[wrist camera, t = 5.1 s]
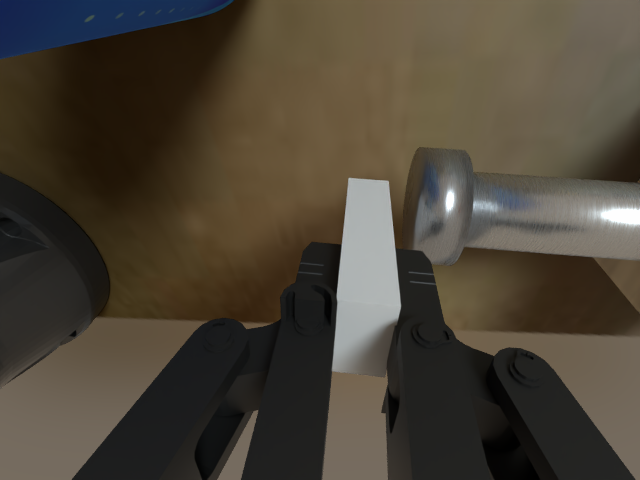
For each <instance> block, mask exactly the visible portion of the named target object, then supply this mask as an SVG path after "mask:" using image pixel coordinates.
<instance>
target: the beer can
mask: <svg viewBox="0 0 640 480" xmlns="http://www.w3.org/2000/svg"><path fill="white" fill-rule="evenodd" d="M233 1H234V0H0V59H3V58H8V57H12V56H17V55H22V54H27V53H31V52H36V51H41V50H46V49H50V48H55V47H60V46H65V45H69V44H74V43H79V42H84V41H88V40H93V39H98V38H103V37H107V36H112V35H117V34H122V33H126V32H131V31H136V30H141V29H145V28H150V27H155V26H160V25H164V24H169V23H174V22H179V21H184V20H188V19H193V18H198V17H202V16H207V15H209V14H212V13H215V12H217V11H219V10H221V9H223V8H224V7H226V6H227V5H229V4H230V3H232V2H233Z"/></svg>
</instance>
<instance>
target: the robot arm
mask: <svg viewBox="0 0 640 480" xmlns="http://www.w3.org/2000/svg"><path fill="white" fill-rule="evenodd" d="M435 283H436V282H435V278H434V275H433V269H432V264H431V261H430V260H429V259H428V257H427V256H426V255H425V254H424V253H423V251H419V250H408V249H397V248H395V241H394V231H393V221H392V211H391V201H390V191H389V181H382V180H369V179H356V178H349V181H348V191H347V201H346V210H345V220H344V230H343V239H342V245H340V244H329V243H318V242H311V243H310V244H309V245H308V246H307V247H306V248H305V250H304V251H303V254H302V258H301V262H300V266H299V270H298V274H297V278H296V282H295V283H294V284H292V285H290V286H289V287H287V288H286V289H285V290H284V291H283V293H282V295H281V297H280V303H281V319H280V320H278V321H277V322H275V323H273V324H271V325H267V326H264V327H258V328H252V329H246V328H245V327H244V326H243V324H242V323H240V322H238V321H236V320H234V319H227V318H221V319H214V320H211V321H209V322H207V323H205V324H203V325H201V326H200V327H199V328H198V329H197V330H196V331H195V332H194V333H193V334H192V335H191V337H190V338H189V339H188V340H187V341H186V343H185V344H184V345H183V346H182V347H181V348H180V350H179V351H178V352H177V353H176V355H175V356H174V357H173V358H172V359H171V360H170V362H169V363H168V364H167V365H166V367H165V368H164V369H163V370H162V371H161V373H160V374H159V375H158V376H157V377H156V379H155V380H154V381H153V382H152V384H151V385H150V386H149V387H148V388H147V389H146V391H145V392H144V393H143V394H142V395H141V397H140V398H139V399H138V400H137V401H136V403H135V404H134V405H133V406H132V408H131V409H130V410H129V411H128V412H127V414H126V415H125V416H124V417H123V418H122V420H121V421H120V422H119V423H118V424H117V426H116V427H115V428H114V429H113V430H112V432H111V433H110V434H109V435H108V436H107V438H106V439H105V440H104V441H103V442H102V444H101V445H100V446H99V447H98V448H97V450H96V451H95V452H94V453H93V455H92V456H91V457H90V458H89V459H88V461H87V462H86V463H85V464H84V465H83V467H82V468H81V469H80V470H79V471H78V473H77V474H76V475H75V476H74V478H73V479H72V480H217V479H218V477H219V475H220V473H221V471H222V469H223V468H224V466H225V464H226V462H227V460H228V458H229V456H230V454H231V453H232V451H233V449H234V447H235V445H236V443H237V441H238V439H239V437H240V436H241V434H242V432H243V430H244V428H245V426H246V424H247V423H248V421H249V419H250V417H251V415H252V413H253V411H255V410H259V411H258V416H257V419H256V423H255V427H254V431H253V435H252V439H251V442H250V447H249V451H248V454H247V458H246V462H245V467H244V470H243V474H242V478H241V480H322V475H323V464H324V454H325V442H326V432H327V420H328V410H329V398H330V388H331V376H332V371H334V372H343V373H352V374H360V375H369V376H378V377H385V375H386V370H387V376H388V385H387V389H386V394H385V398H384V402H383V406H382V413H386V434H387V460H388V461H387V462H388V480H635V478H634V477H633V476H632V474H631V473H630V472H629V470H628V469H627V468H626V466H625V465H624V463H623V462H622V461H621V459H620V458H619V457H618V455H617V454H616V453H615V451H614V450H613V449H612V447H611V446H610V445H609V443H608V442H607V441H606V439H605V438H604V437H603V435H602V434H601V433H600V431H599V430H598V429H597V427H596V426H595V425H594V423H593V422H592V421H591V419H590V418H589V417H588V415H587V414H586V413H585V411H584V410H583V408H582V407H581V406H580V404H579V403H578V402H577V400H576V399H575V398H574V396H573V395H572V394H571V392H570V391H569V390H568V388H567V387H566V386H565V384H564V383H563V382H562V380H561V379H560V378H559V376H558V375H557V374H556V372H555V371H554V370H553V369H552V368H551V367H550V365H549V364H548V363H547V362H546V361H545V360H543V359H542V358H540V357H539V356H537V355H535V354H534V353H532V352H529V351H526V350H523V349H521V348H506V349H502V350H500V351H499V352H498V353H497V354H496V355H495V356H493V355H490V354H487V353H484V352H482V351H479V350H476V349H473V348H471V347H469V346H467V345H465V344H463V343H462V342H460V341H459V340H457V339H456V337H455V335H454V333H453V331H452V330H451V329H450V328H449V327H448V326H447V325H446V324H445V322H444V318H443V314H442V309H441V305H440V300H439V296H438V291H437V287H436V285H435ZM108 296H109V279H108V274H107V271H106V268H105V265H104V263H103V261H102V258H101V256H100V255H99V253H98V251H97V249H96V248H95V246H94V245H93V243H92V242H91V241H90V239H89V238H88V237H87V235H86V234H85V233H84V232H83V231H82V230H81V228H80V227H79V226H78V225H77V224H76V223H75V222H74V221H73V220H72V219H71V218H70V217H69V216H68V215H67V214H66V213H64V212H63V211H62V210H61V209H60V208H58V207H57V206H56V205H55V204H53V203H52V202H51V201H49V200H48V199H47V198H45V197H44V196H42V195H41V194H39V193H38V192H36V191H35V190H33V189H31V188H30V187H28V186H26V185H25V184H23V183H21V182H19V181H17V180H15V179H13V178H11V177H9V176H7V175H4V174H2V173H0V389H1V388H2V387H3V386H4V385H6V384H7V383H8V382H10V381H11V380H13V379H14V378H16V377H17V376H19V375H20V374H22V373H23V372H25V371H26V370H28V369H29V368H31V367H32V366H34V365H35V364H37V363H38V362H39V361H41V360H42V359H44V358H45V357H46V356H48V355H49V354H50V353H52V352H53V351H54V350H55V349H57V348H58V347H59V346H60V345H63V344H66V343H68V342H70V341H71V340H73V339H75V338H76V337H77V336H79V335H80V334H81V333H82V332H84V331H85V330H86V329H87V328H88V326H89V325H90V324H91V323H92V321H93V320H94V319H95V318H96V316H97V315H98V314H99V313H100V311H101V310H102V309H103V308H104V306H105V304H106V302H107V299H108Z"/></svg>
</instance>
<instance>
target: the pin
mask: <svg viewBox="0 0 640 480" xmlns="http://www.w3.org/2000/svg"><path fill="white" fill-rule="evenodd" d="M402 236H403V249H408V250H419V251H423V253H424V254H425V255H426V256H427V257H428V259H429V260H430V261H431V264H435V265H446V266H451V265H453V264H454V263H455V262H456V261H457V260H458V259H459V257H460V255H461V253H462V251H463V248H464V247H472V248H484V249H496V250H509V251H521V252H533V253H546V254H558V255H570V256H583V257H595V258H607V259H620V260H632V261H640V183H632V182H617V181H602V180H588V179H573V178H558V177H543V176H529V175H514V174H499V173H485V172H473V168H472V163H471V160H470V157H469V155H468V153H467V152H466V151H465V150H457V149H442V148H426V147H419V148H418V149H417V150H416V152H415V154H414V157H413V159H412V163H411V166H410V170H409V175H408V180H407V185H406V192H405V200H404V210H403V229H402Z"/></svg>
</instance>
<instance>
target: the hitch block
mask: <svg viewBox="0 0 640 480" xmlns="http://www.w3.org/2000/svg"><path fill="white" fill-rule="evenodd" d="M637 183H640V179H639V180H638V182H637ZM593 258H594V259H595V261H596V262H597V263H598V264H599V265H600V267H601V268H602V269H603V270H604V271H605V273H606V274H607V275H608V276H609V277H610V279H611V280H612V281H613V282H614V283H615V285H616V286H617V287H618V288H619V289H620V291H621V292H622V293H623V294H624V295H625V297H626V298H627V299H628V300H629V302H630V303H631V304H632V305H633V306H634V308H635V309H636V310H637V311H638V312H639V314H640V261H632V260H620V259H607V258H595V257H593Z"/></svg>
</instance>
